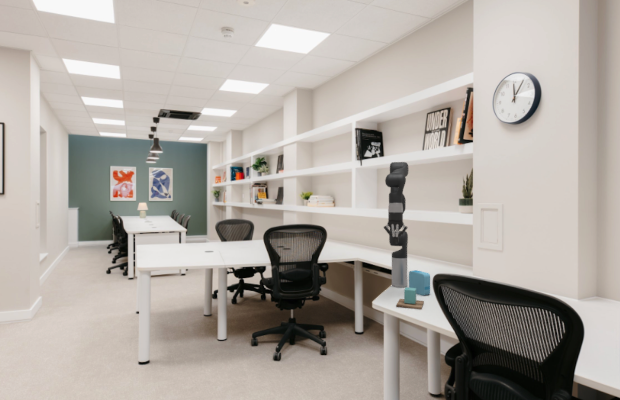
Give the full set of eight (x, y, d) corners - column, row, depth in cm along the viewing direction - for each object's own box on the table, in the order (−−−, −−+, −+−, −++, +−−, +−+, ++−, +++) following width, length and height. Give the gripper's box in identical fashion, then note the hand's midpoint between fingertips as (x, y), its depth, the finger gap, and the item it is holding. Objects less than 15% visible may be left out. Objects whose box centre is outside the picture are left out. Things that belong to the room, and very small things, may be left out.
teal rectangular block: (405, 300, 193) (405, 287, 192) (416, 301, 191) (416, 288, 191) (404, 302, 188) (404, 289, 188) (415, 304, 186) (415, 290, 186)
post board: (399, 300, 197) (399, 286, 197) (423, 302, 193) (423, 288, 192) (396, 306, 186) (396, 291, 186) (421, 309, 181) (421, 294, 181)
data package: (430, 295, 207) (430, 273, 207) (424, 296, 205) (424, 274, 205) (414, 290, 218) (414, 269, 218) (408, 291, 216) (408, 270, 216)
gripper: (409, 211, 203) (409, 243, 203) (384, 211, 208) (384, 242, 208) (407, 211, 196) (407, 245, 196) (381, 211, 201) (381, 244, 201)
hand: (395, 243), depth 202 cm, fingers closed
